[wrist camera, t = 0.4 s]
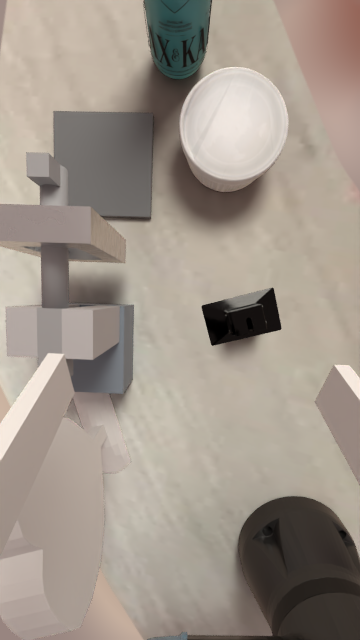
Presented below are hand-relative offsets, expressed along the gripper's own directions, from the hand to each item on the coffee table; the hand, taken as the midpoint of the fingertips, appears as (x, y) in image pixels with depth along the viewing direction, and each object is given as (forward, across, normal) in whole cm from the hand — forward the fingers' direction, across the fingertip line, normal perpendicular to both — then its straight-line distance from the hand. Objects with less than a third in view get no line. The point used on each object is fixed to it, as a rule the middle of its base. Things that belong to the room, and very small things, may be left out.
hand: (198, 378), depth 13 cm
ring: (+18, +11, 0) cm, 21 cm away
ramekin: (+28, -4, -10) cm, 30 cm away
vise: (+20, +11, +7) cm, 23 cm away
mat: (+27, +11, -8) cm, 30 cm away
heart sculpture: (+12, +11, +22) cm, 28 cm away
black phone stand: (+19, -7, +8) cm, 22 cm away
